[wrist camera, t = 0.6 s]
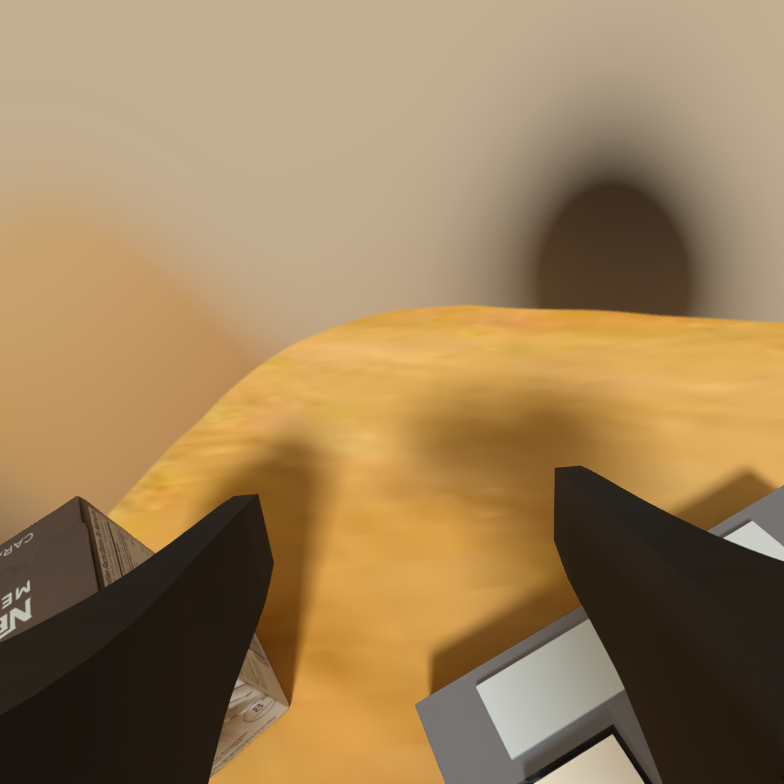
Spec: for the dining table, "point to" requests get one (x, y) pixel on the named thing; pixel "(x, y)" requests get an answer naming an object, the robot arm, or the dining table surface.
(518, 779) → the keypad
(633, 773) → the cream key
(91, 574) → the coffee box
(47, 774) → the robot arm
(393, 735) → the dining table surface
